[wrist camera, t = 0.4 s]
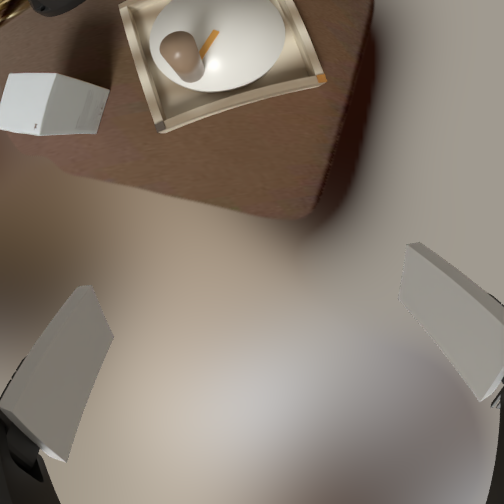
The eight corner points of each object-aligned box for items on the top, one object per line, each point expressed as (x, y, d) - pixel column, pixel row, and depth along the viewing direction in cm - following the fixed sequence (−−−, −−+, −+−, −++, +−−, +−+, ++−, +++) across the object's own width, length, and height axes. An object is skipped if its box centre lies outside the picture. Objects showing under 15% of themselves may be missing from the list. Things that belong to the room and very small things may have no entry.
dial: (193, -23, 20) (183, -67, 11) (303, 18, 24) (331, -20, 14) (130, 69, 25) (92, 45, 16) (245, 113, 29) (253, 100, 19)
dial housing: (126, 14, 23) (117, 4, 19) (267, -28, 22) (271, -41, 18) (164, 133, 30) (157, 132, 27) (317, 86, 29) (327, 81, 26)
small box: (111, 89, 27) (58, 71, 15) (97, 134, 29) (39, 137, 17) (66, 84, 26) (8, 72, 14) (54, 126, 28) (-7, 129, 16)
